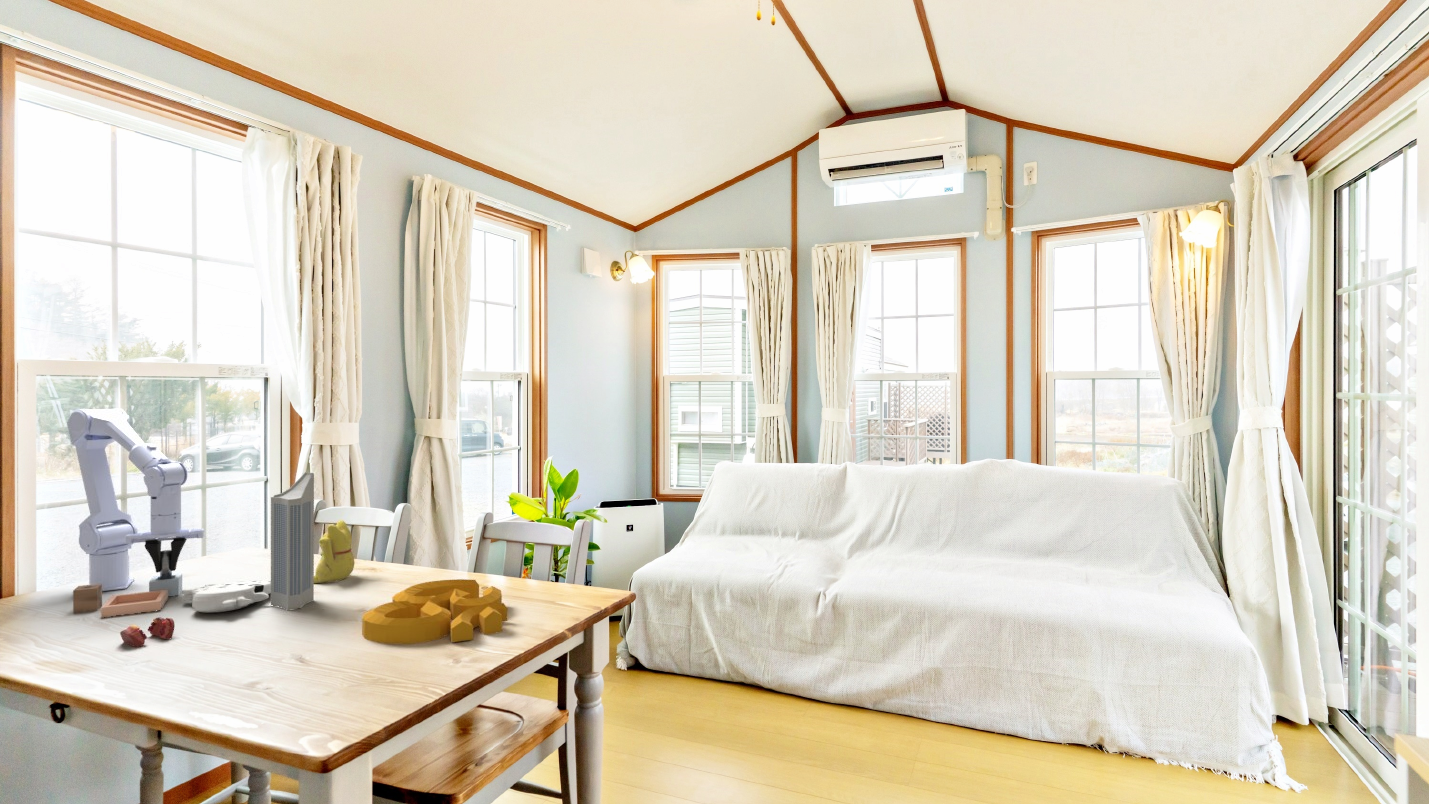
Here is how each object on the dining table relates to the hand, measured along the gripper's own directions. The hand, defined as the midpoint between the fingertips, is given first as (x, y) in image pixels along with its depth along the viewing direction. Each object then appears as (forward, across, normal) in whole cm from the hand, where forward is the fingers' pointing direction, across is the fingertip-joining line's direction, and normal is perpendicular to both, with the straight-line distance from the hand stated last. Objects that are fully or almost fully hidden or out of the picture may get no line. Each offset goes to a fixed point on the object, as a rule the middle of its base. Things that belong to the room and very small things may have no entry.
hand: (166, 570), depth 165 cm
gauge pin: (+2, 0, 0) cm, 2 cm away
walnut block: (+6, -13, -6) cm, 15 cm away
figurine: (+6, +35, -4) cm, 36 cm away
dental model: (+6, +2, -35) cm, 36 cm away
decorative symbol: (+6, +55, -50) cm, 75 cm away
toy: (+6, +14, -15) cm, 21 cm away
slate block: (+6, 0, 0) cm, 6 cm away
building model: (+6, +26, -22) cm, 35 cm away
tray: (+6, -4, -10) cm, 12 cm away
